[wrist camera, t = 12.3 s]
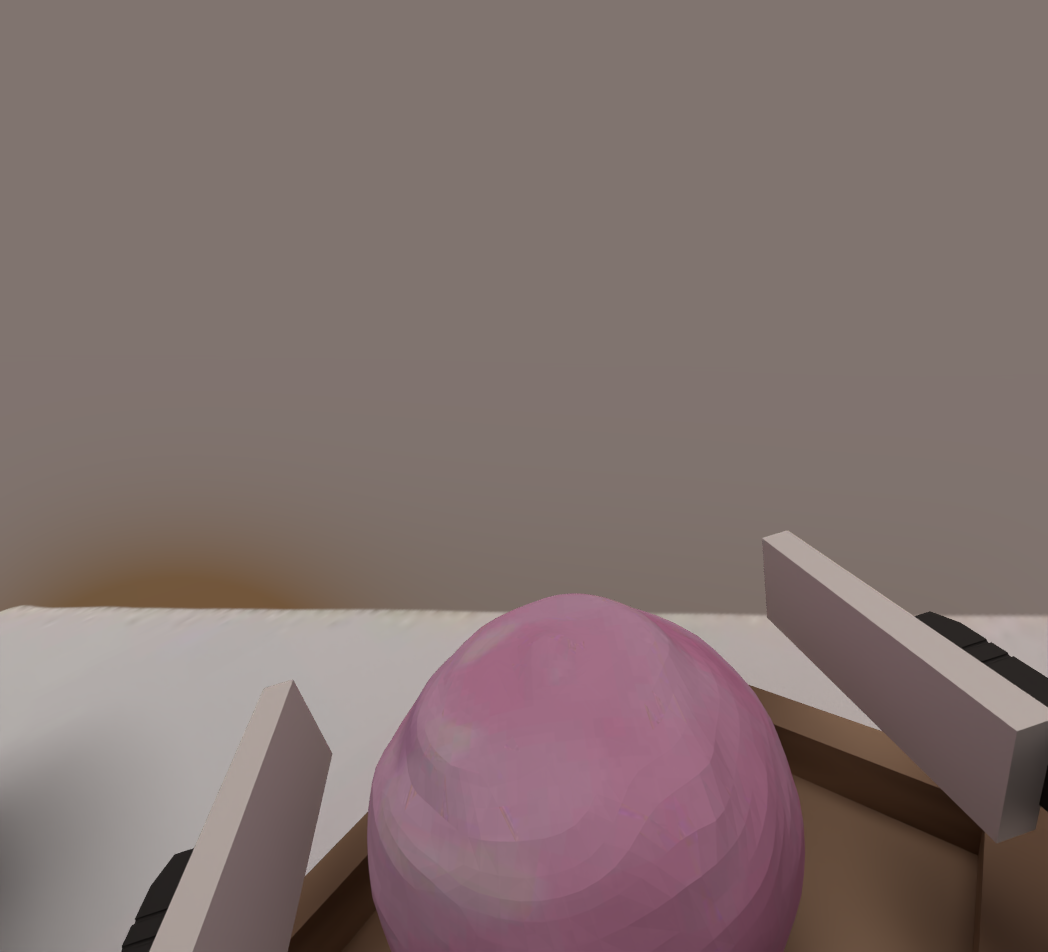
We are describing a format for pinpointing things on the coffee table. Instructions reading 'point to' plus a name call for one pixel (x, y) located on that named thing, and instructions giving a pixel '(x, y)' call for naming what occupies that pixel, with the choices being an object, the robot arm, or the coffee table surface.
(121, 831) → the coffee table surface
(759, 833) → the cupcake
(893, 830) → the serving tray
